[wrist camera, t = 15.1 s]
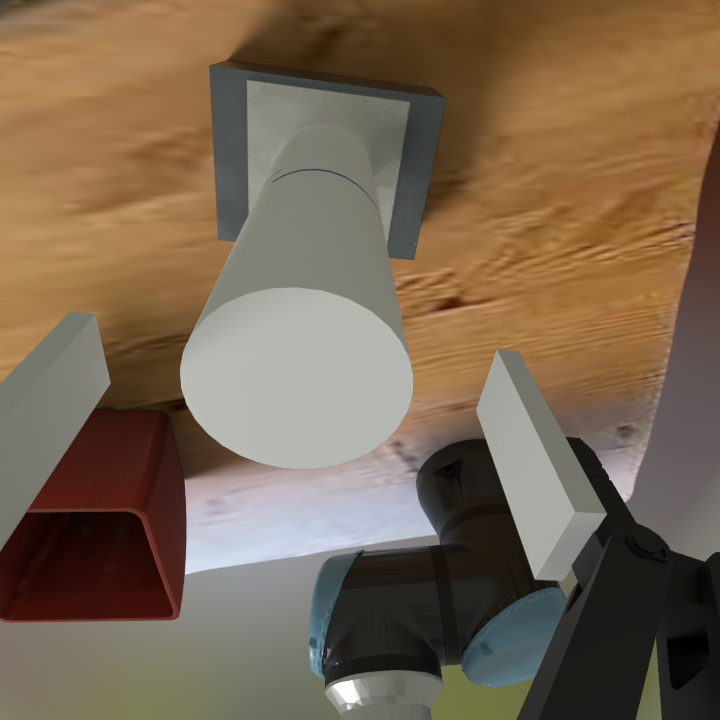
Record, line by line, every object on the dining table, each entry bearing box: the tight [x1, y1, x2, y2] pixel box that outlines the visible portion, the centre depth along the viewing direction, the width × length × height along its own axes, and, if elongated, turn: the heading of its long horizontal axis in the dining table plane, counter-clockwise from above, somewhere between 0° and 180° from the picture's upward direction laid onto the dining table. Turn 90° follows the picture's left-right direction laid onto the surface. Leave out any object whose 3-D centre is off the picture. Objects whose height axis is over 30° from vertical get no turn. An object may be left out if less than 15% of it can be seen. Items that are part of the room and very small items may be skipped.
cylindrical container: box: [180, 123, 413, 469], centre depth 25 cm, size 7×7×25 cm
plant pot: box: [0, 410, 186, 623], centre depth 52 cm, size 19×19×17 cm
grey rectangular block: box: [209, 60, 446, 260], centre depth 38 cm, size 16×12×6 cm
